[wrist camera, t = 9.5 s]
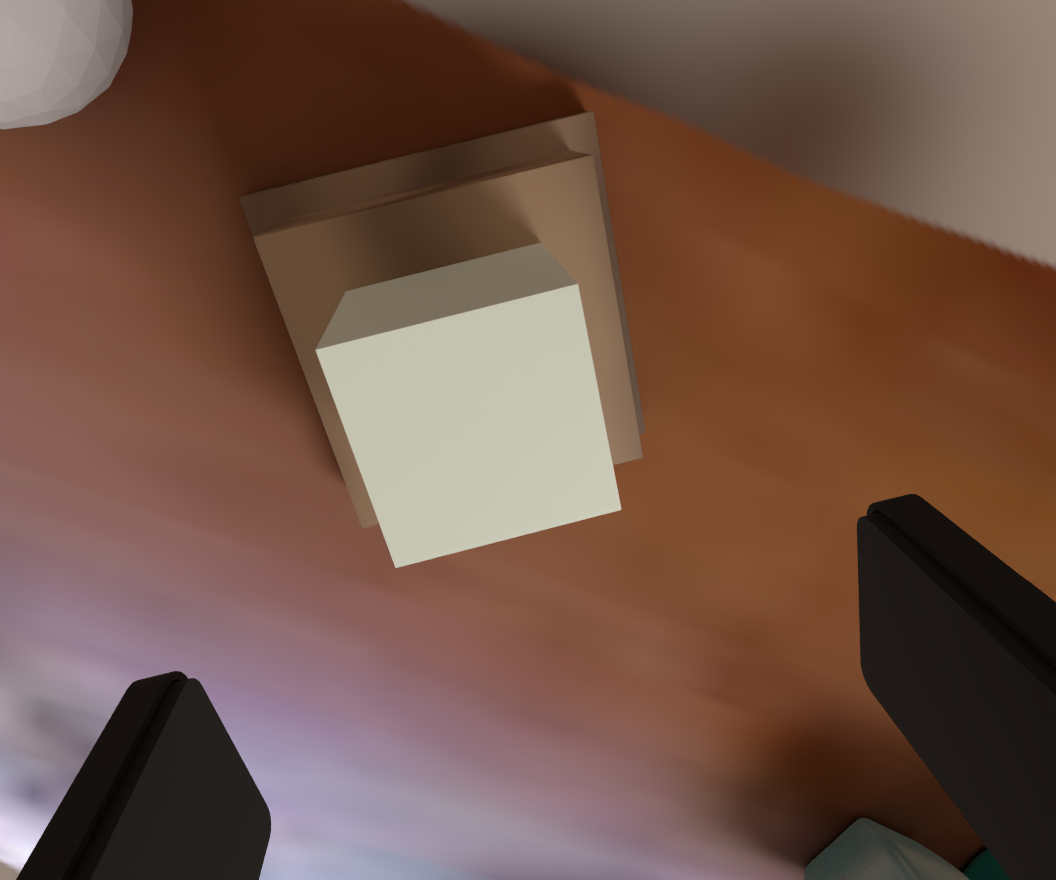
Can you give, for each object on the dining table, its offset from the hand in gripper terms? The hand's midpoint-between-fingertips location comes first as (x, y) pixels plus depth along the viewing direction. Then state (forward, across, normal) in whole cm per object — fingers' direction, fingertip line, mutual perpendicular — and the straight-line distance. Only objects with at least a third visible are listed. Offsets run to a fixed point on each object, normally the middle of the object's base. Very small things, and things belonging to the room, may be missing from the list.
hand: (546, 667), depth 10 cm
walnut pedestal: (+19, +1, 0) cm, 19 cm away
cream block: (+14, +1, 0) cm, 14 cm away
